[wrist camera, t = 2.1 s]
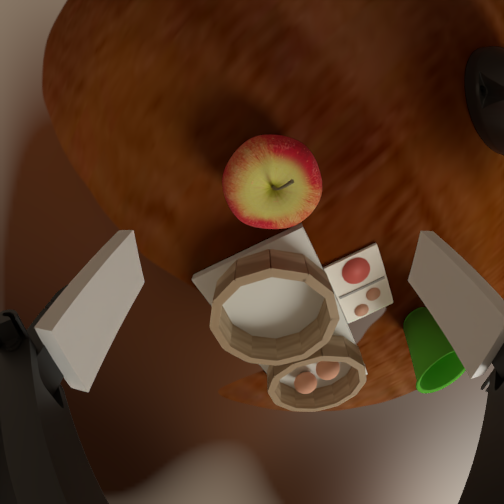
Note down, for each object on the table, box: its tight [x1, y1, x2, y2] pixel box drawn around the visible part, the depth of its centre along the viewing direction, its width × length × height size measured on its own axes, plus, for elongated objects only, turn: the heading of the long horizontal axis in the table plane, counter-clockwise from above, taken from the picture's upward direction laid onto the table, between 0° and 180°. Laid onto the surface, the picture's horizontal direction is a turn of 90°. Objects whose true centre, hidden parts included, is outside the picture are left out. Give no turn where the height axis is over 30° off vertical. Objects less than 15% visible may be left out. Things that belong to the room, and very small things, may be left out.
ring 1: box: [210, 249, 340, 366], centre depth 32 cm, size 14×14×4 cm
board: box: [192, 223, 368, 389], centre depth 37 cm, size 29×14×1 cm, turn 28°
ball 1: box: [294, 372, 317, 394], centre depth 39 cm, size 4×4×4 cm
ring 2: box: [267, 335, 366, 412], centre depth 38 cm, size 14×14×4 cm
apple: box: [222, 135, 322, 229], centre depth 23 cm, size 8×8×10 cm
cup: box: [403, 307, 466, 393], centre depth 32 cm, size 9×9×11 cm
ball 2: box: [316, 361, 340, 380], centre depth 37 cm, size 4×4×4 cm
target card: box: [323, 243, 393, 324], centre depth 34 cm, size 10×7×1 cm
